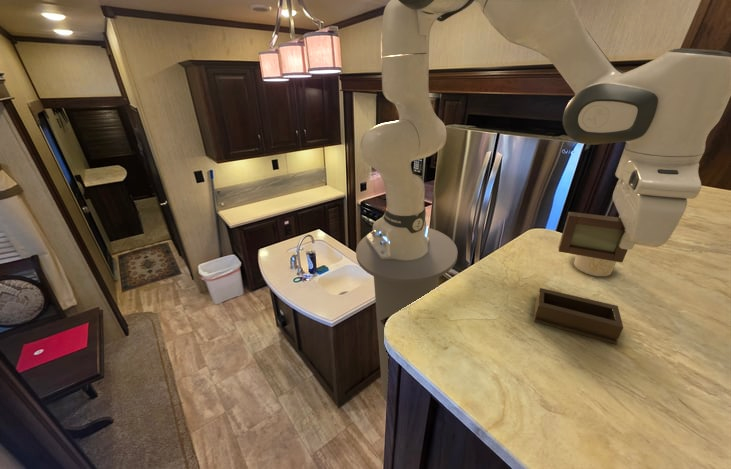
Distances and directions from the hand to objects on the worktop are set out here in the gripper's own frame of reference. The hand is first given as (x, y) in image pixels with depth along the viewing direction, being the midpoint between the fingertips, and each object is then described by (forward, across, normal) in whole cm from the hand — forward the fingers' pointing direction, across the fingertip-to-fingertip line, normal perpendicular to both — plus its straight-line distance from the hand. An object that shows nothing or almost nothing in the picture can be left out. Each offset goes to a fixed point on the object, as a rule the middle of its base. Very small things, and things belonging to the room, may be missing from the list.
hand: (622, 242), depth 52 cm
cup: (+19, -21, +2) cm, 29 cm away
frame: (+4, 0, -4) cm, 6 cm away
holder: (+19, +2, -4) cm, 19 cm away
